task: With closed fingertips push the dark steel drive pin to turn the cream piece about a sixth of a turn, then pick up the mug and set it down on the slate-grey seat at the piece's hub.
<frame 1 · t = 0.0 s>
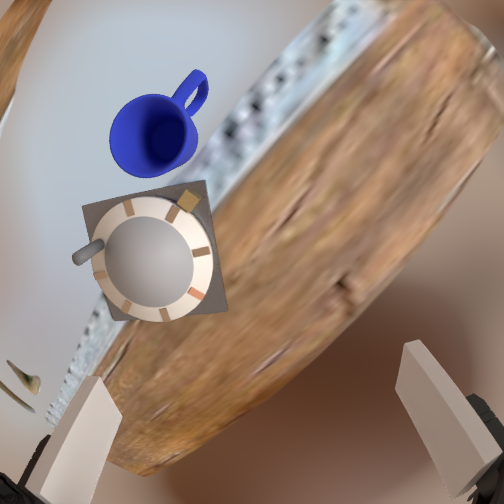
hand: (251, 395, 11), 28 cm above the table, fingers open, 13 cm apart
mug: (182, 128, 34), on the table
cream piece: (141, 270, 34), point 5 cm above the table, hinge at 0.0°
bearing plate: (152, 257, 38), on the table
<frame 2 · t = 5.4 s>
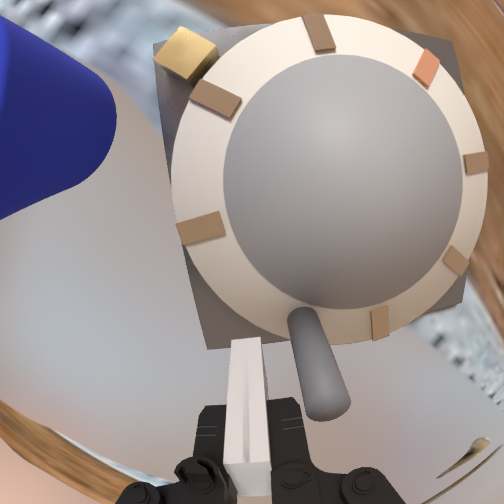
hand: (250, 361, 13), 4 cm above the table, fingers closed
mug: (57, 115, 13), on the table
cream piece: (381, 191, 10), point 5 cm above the table, hinge at 2.7°, touching gripper
bearing plate: (344, 180, 15), on the table
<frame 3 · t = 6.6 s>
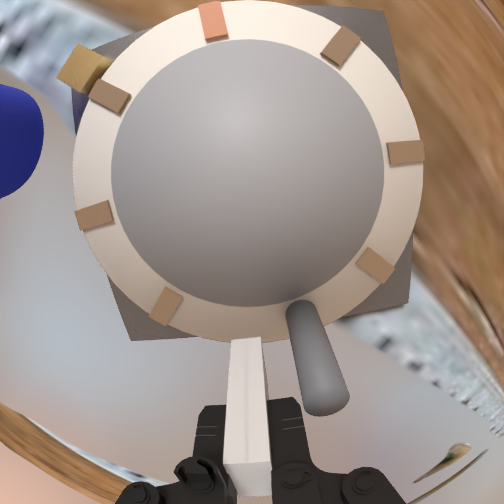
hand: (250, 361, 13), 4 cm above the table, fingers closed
mug: (4, 129, 13), on the table
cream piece: (247, 179, 10), point 5 cm above the table, hinge at 43.5°, touching gripper
bearing plate: (247, 171, 15), on the table
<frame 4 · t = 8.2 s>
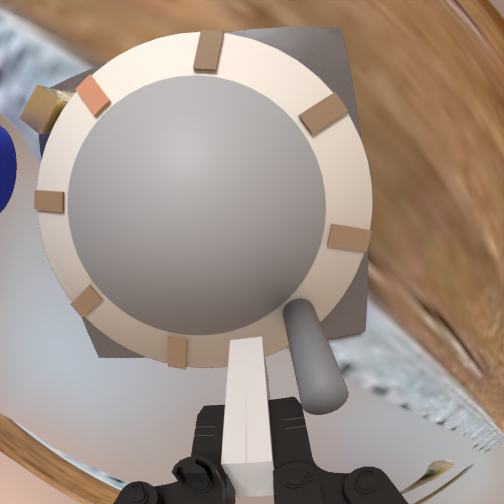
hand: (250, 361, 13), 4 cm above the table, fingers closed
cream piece: (173, 224, 11), point 5 cm above the table, hinge at 69.1°, touching gripper
bearing plate: (194, 204, 15), on the table
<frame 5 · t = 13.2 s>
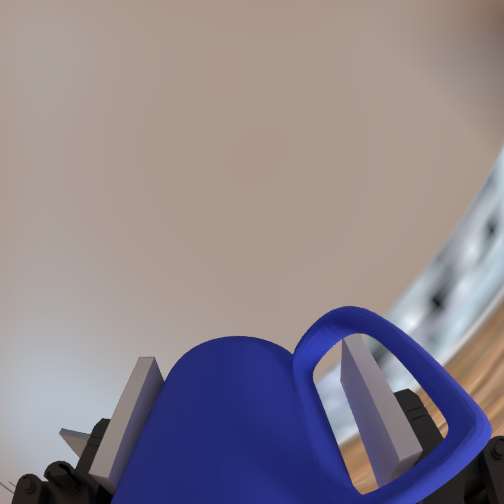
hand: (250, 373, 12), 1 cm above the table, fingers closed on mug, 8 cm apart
mug: (265, 356, 13), on the table, touching gripper
bearing plate: (198, 495, 18), on the table
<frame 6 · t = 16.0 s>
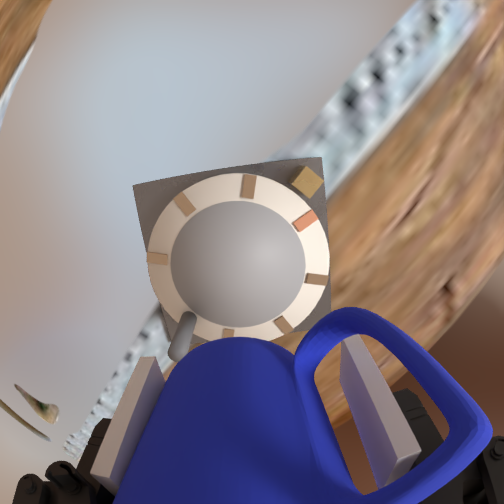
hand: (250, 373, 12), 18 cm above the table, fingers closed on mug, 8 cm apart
mug: (266, 356, 13), point 16 cm above the table, touching gripper
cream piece: (236, 278, 25), point 5 cm above the table, hinge at 69.2°
bearing plate: (238, 259, 29), on the table
when the fingers open (5 cm above the table, at t = 18.8 s): mug drops 1 cm, resting on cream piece.
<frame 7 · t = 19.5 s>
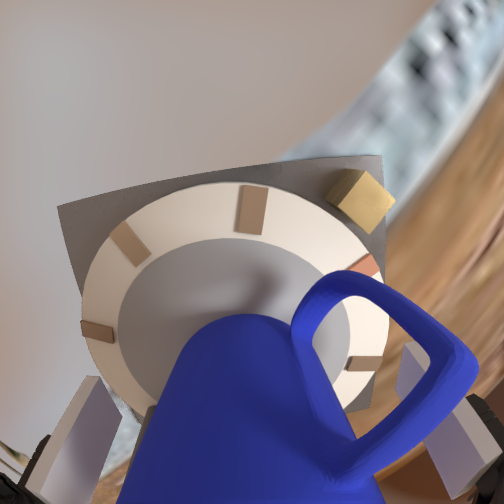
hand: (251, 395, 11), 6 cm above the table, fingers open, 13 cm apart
mug: (268, 333, 14), point 3 cm above the table, touching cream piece
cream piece: (230, 382, 13), point 5 cm above the table, hinge at 69.2°, touching mug
bearing plate: (233, 328, 17), on the table
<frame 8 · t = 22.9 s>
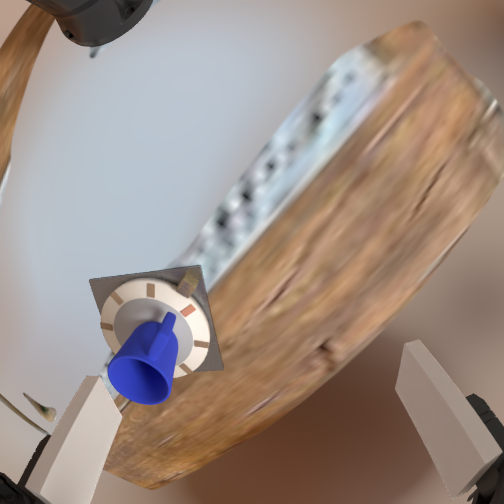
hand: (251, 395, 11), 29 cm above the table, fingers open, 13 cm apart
mug: (162, 328, 40), point 3 cm above the table, touching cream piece
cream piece: (148, 343, 38), point 5 cm above the table, hinge at 69.2°, touching mug
bearing plate: (156, 326, 43), on the table
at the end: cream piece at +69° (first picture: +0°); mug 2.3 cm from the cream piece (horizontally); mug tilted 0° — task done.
